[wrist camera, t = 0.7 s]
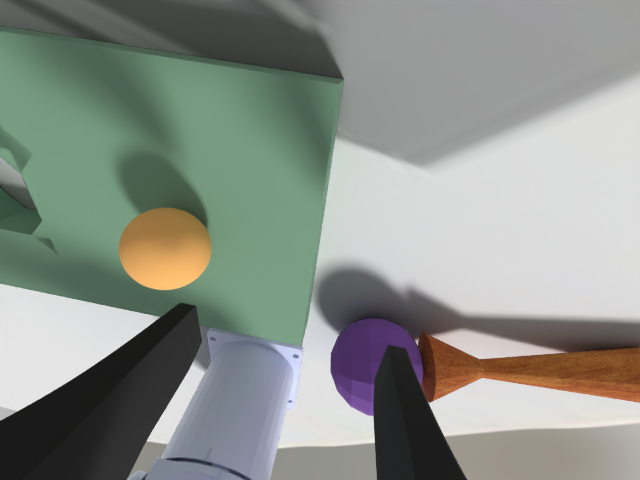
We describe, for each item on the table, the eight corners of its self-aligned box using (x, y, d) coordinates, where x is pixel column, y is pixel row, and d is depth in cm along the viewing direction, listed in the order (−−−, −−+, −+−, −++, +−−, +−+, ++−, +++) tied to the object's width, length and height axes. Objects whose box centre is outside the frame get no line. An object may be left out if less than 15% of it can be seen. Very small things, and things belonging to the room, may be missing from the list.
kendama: (652, 444, 18) (330, 426, 20) (593, 352, 23) (332, 342, 24) (742, 413, 14) (328, 392, 16) (649, 307, 18) (331, 299, 20)
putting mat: (308, 318, 22) (301, 346, 20) (13, 258, 23) (-22, 279, 21) (343, 79, 13) (339, 84, 11) (-131, 5, 15) (-214, -3, 13)
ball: (226, 263, 17) (191, 315, 14) (160, 250, 17) (110, 298, 14) (222, 201, 15) (179, 245, 12) (147, 187, 15) (83, 226, 12)
